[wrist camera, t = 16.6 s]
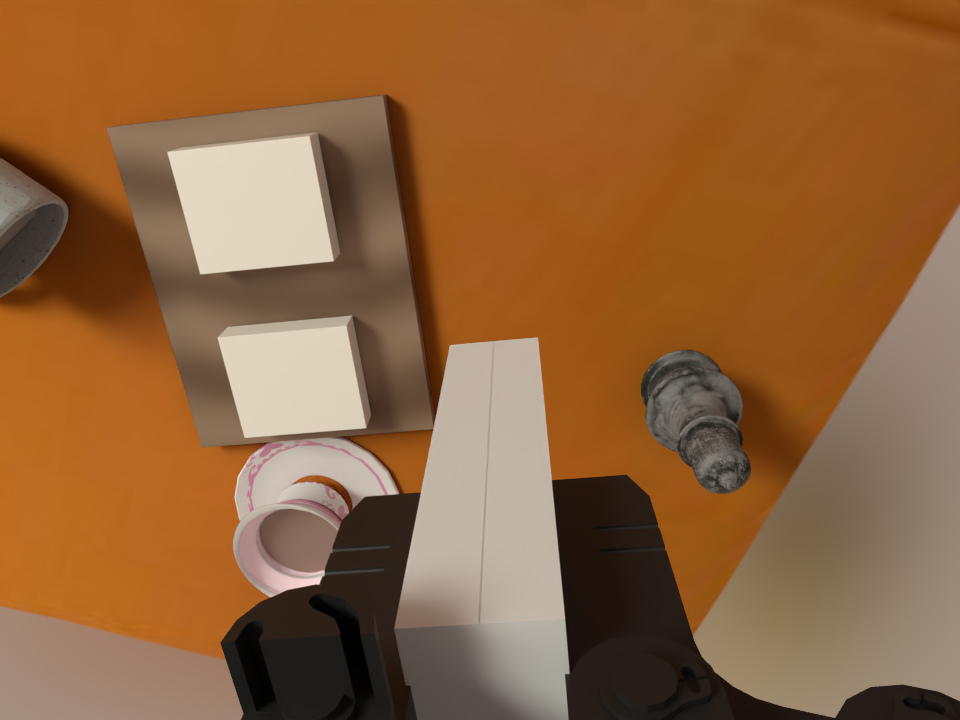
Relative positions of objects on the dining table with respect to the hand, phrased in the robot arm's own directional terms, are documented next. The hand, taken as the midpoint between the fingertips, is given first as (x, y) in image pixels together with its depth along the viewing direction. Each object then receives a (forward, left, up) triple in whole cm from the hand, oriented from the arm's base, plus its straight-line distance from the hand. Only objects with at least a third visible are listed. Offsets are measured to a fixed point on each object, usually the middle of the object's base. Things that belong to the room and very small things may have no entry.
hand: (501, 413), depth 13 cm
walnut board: (+6, -14, -32) cm, 36 cm away
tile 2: (+12, -10, -30) cm, 34 cm away
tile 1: (+1, -10, -30) cm, 32 cm away
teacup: (+23, -16, -33) cm, 43 cm away
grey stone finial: (+16, +10, -33) cm, 38 cm away
